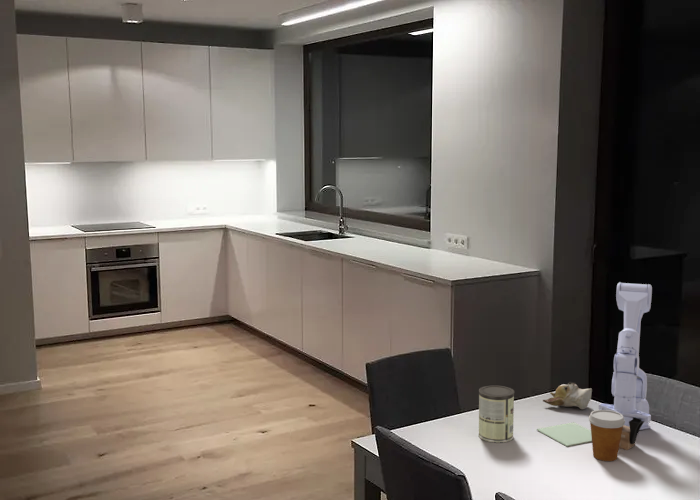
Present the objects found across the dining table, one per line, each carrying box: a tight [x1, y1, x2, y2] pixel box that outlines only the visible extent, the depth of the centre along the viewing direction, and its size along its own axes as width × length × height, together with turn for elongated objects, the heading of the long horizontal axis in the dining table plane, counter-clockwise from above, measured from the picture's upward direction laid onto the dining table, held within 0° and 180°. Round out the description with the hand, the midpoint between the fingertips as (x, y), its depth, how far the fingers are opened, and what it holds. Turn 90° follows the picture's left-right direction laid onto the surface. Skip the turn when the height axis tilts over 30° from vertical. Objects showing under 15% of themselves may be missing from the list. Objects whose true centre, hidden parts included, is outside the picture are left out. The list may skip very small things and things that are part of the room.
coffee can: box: [478, 384, 515, 444], centre depth 225 cm, size 10×10×14 cm
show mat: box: [536, 421, 592, 447], centre depth 227 cm, size 14×14×1 cm
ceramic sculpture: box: [542, 381, 593, 410], centre depth 251 cm, size 11×9×15 cm
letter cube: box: [619, 425, 636, 451], centre depth 218 cm, size 5×5×5 cm
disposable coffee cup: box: [588, 409, 625, 462], centre depth 210 cm, size 10×10×12 cm
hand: (623, 440), depth 218 cm, fingers closed on letter cube, 5 cm apart
